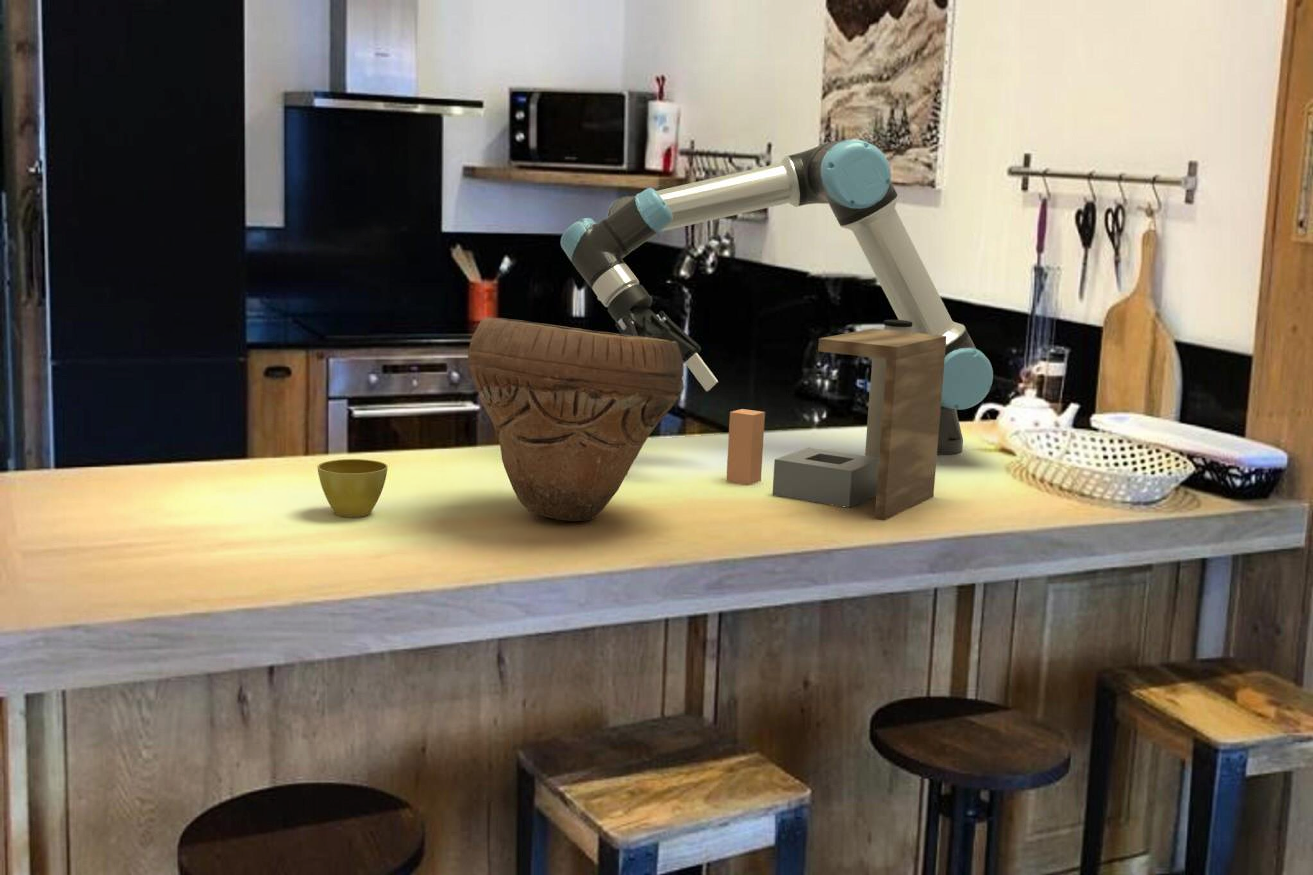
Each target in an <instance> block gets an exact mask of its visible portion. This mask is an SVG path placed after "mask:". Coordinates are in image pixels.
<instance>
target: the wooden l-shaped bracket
mask: <svg viewBox="0 0 1313 875" xmlns="http://www.w3.org/2000/svg"><path fill="white" fill-rule="evenodd" d="M883 329H884V328H881V329H879V328H869V329H863V330H857V331H852V332H851V331H850V332H847V333H841V334H837V335H830V336H825V337H820V338H818V347H817V352H819V353H820V352H822V353H830V354H831V353H832V354H838V355H849V356H858V357H865V358H866V357H867V358H872V357H874V358H883V359H887V360H886V374H885V387H884V401H883V414H882V427H881V441H880V454H879V468H878V481H877V494H876V496H875V510H874V511H875V512H874V520H879V521H881V520H882V521H886V520H888V519H890V518H892V517H894V516H896V515H898V514H900V513H903V512H904V511H906V510H908V509H911V508H913V507H914V506H916V505H918V504H920V503H922V502H925V501H927V500H929V499H930V498H931V499H932V498H933V497H934V495H935V494H934V493H935V492H934V491H935V480H936V472H937V471H936V470H937V460H938V458H937V457H938V454H937V447H938V435H939V423H940V410H941V398H942V386H943V374H944V362H945V349H946V337H947V336H942V335H932V334H922V333H912V332H902V331H892V330H883Z"/></svg>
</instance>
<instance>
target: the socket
mask: <svg viewBox="0 0 1313 875" xmlns="http://www.w3.org/2000/svg"><path fill="white" fill-rule="evenodd" d="M773 462H774V465H773V479H772V494H771V495H772V496H775V495H776V496H777V497H782V498H787V497H788V498H787V499H793V500H799V499H800V501H806V502H811V501H812V502H813V503H817V502H820V503H819V504H823V503H825V505H829V504H833V505H832V506H835V505H837V506H836V507H841V506H845V507H844V508H847V507H848V508H849V507H850V508H852V507H855V506H856V504H857V505H859V504H860V502H861V503H863V502H865V501H867V499H868V500H870V499H872V498H874V497H875V498H876V494H877V481H878V468H879V458H876V457H869V456H865V455H863V454H861V455H860V454H856V453H848V452H841V451H833V450H827V449H821V448H813V447H808V448H807V447H806V448H805V449H801V450H798V451H796V452H795V451H794V452H791V453H789V454H787V455H784V456H780V457H776V458H775V459H774V461H773ZM851 506H852V507H851Z"/></svg>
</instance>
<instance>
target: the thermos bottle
mask: <svg viewBox="0 0 1313 875" xmlns="http://www.w3.org/2000/svg"><path fill="white" fill-rule="evenodd" d="M883 325H884V327H883V328H882V329H883V330H892V331H902V332H912V330H911V327H912V325H913V322H910V321H905V320H899V319H885V320H884V321H883ZM886 360H887V359H883V358H874V357H871V374H870V384H869V394H868V395H869V396H868V398H869V399H868V409H867V410H868V412H867V421H866V422H867V423H866V424H867V425H866V438H865V450H864V451H865V453H864V456H869V457H876V458H879V454H880V441H881V427H882V414H883V401H884V387H885V374H886Z"/></svg>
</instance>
